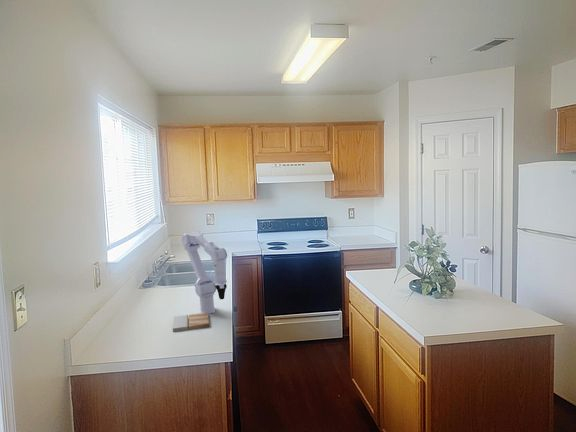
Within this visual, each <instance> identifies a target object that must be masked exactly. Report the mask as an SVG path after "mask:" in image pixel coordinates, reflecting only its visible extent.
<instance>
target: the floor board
mask: <svg viewBox="0 0 576 432" xmlns="http://www.w3.org/2000/svg"><path fill="white" fill-rule="evenodd" d="M172 322H173V323H172V324H173V325H172V332H179V331H180V332H181V331H188V330H189V314H186V315H184V314H183V315H175V316H173V321H172Z"/></svg>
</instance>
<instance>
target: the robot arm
mask: <svg viewBox="0 0 576 432" xmlns="http://www.w3.org/2000/svg"><path fill="white" fill-rule="evenodd" d="M181 242H182V244H183V247H184V250H185V251H187V256H188V257H189V261H190V263H191V266H192V268H193V271H194V275H195V276H196V281H195V283H194V288H195V289H194V291H195V293H196V295H197V297H199V306H200V308H199V313H206V312H208V315H210V314H214V313H216V309H215V302H214V295H215V293H216V291H217V294H218V298H219V300H225V296H226V294H225V293H226V289H227V287H228V286H227V272H226V260H227V257H228V252H227V250H226V249H225V248H223V247H222V248H221V247H218V246H217V245H216V244H215V243H214V242H212V241H211V242H210V241H208V240H207V239H206V238H204V235H203V233H202V232H201V231H193V232H187V233H183V235H182V237H181ZM200 247H202V248H203V250H204V252H205V253H206V254H208V255H209V256H210V259H211V262H212V265H213V272H214V273H213V275H214V280H213V278H211V277H210V276H208V275H207V273H206V270H205V268H204V265H203V262H202V259H201V257H200V255H199V252H198V249H200Z"/></svg>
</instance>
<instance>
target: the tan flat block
mask: <svg viewBox="0 0 576 432" xmlns="http://www.w3.org/2000/svg"><path fill="white" fill-rule="evenodd" d="M209 327H210V320H209V314H208V312H206V313H200V312H199V313H192V314H188V330H196V329H201V328H209Z"/></svg>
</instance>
